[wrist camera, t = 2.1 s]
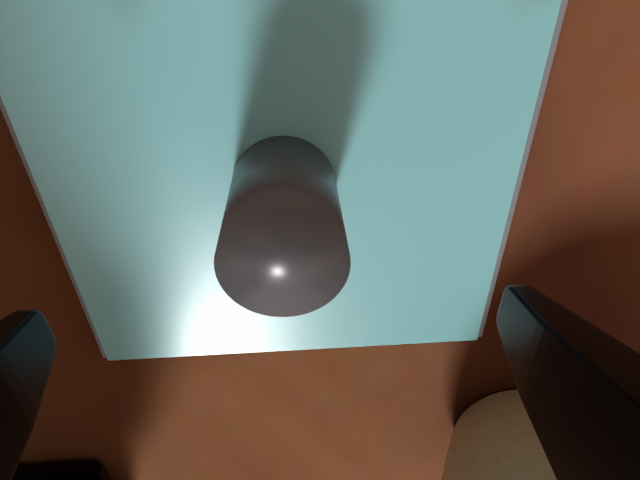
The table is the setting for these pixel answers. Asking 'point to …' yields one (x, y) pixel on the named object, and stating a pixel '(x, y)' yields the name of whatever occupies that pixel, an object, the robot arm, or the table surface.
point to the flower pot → (496, 443)
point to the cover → (275, 162)
